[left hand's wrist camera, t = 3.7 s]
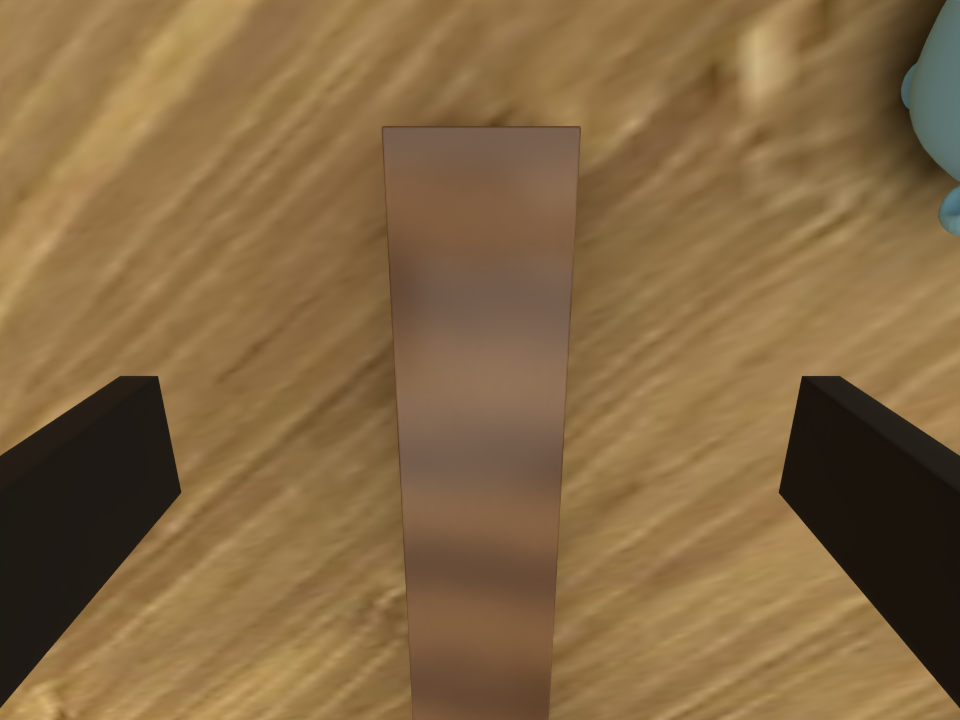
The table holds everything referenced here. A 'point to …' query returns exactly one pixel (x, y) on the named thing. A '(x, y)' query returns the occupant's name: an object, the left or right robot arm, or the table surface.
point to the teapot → (939, 103)
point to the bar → (481, 404)
